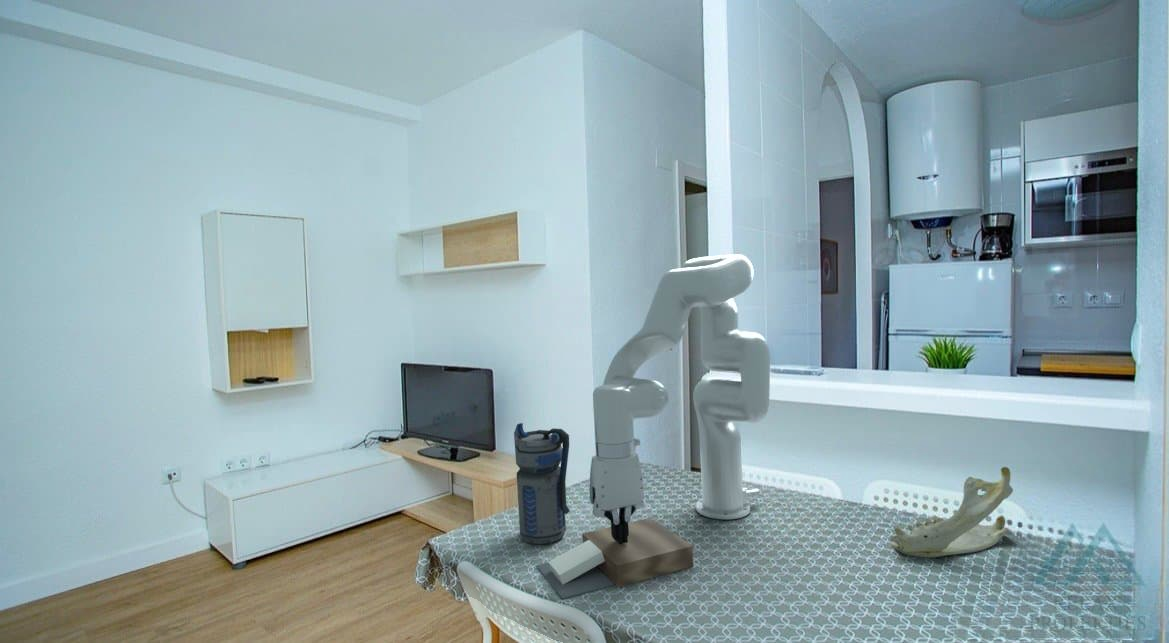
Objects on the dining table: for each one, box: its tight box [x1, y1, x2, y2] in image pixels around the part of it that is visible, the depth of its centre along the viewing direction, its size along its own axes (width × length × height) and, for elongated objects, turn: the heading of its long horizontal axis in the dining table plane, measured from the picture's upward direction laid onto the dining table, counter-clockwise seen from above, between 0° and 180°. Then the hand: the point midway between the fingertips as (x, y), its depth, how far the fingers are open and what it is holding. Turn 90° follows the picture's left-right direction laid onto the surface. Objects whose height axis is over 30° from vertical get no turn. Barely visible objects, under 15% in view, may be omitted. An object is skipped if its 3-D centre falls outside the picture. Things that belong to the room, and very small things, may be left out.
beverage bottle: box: [513, 422, 571, 545], centre depth 126 cm, size 10×13×25 cm
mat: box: [536, 561, 615, 601], centre depth 109 cm, size 10×14×1 cm
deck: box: [581, 517, 694, 588], centre depth 114 cm, size 16×16×4 cm
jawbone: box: [889, 466, 1014, 559], centre depth 111 cm, size 25×18×10 cm
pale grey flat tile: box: [548, 540, 605, 584], centre depth 109 cm, size 9×6×2 cm, turn 113°
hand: (620, 540), depth 113 cm, fingers closed
